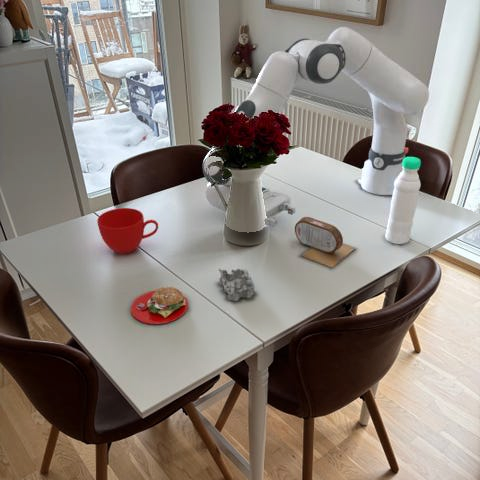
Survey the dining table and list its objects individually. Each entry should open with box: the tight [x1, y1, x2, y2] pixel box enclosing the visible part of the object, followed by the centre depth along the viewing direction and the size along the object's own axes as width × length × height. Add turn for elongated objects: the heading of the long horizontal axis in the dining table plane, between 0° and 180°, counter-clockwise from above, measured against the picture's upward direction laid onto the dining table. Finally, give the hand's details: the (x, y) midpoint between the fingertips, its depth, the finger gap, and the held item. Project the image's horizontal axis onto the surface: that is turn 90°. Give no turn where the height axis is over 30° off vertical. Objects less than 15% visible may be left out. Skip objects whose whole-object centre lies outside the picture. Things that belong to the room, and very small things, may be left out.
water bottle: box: [384, 156, 422, 245], centre depth 144 cm, size 7×7×25 cm
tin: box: [294, 216, 344, 253], centre depth 144 cm, size 15×3×8 cm, turn 50°
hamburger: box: [130, 286, 189, 325], centre depth 123 cm, size 14×14×6 cm
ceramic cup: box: [96, 207, 159, 255], centre depth 146 cm, size 13×17×10 cm
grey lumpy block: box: [218, 268, 256, 302], centre depth 129 cm, size 11×8×4 cm
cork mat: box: [301, 243, 356, 269], centre depth 145 cm, size 13×10×1 cm
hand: (285, 217), depth 150 cm, fingers open, 8 cm apart
